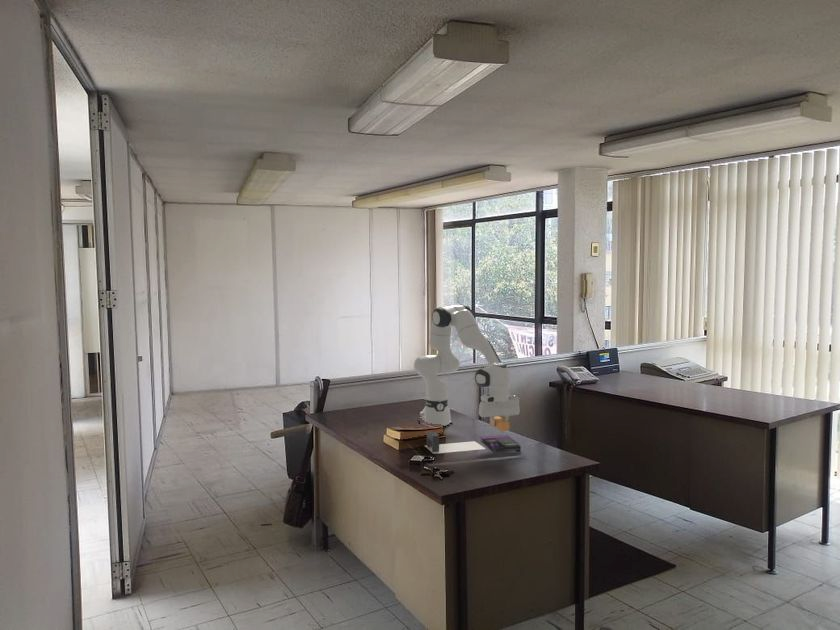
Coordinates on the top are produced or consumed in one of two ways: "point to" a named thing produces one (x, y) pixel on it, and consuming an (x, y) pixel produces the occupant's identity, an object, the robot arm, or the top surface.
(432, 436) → the dark grey block
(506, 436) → the box
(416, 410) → the top surface
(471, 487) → the top surface
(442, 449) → the base plate
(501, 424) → the orange foam brick
